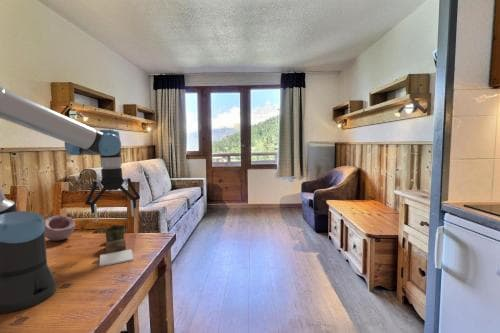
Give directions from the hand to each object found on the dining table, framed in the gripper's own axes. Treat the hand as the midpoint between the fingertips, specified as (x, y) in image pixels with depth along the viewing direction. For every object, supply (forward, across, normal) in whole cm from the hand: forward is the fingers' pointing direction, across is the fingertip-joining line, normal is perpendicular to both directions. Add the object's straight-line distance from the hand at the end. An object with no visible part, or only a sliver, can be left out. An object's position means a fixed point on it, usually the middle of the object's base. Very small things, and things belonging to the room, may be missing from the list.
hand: (115, 218), depth 113 cm
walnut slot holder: (+12, 0, 0) cm, 12 cm away
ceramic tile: (+12, 0, +14) cm, 18 cm away
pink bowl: (+12, +22, -20) cm, 32 cm away
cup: (+12, 0, 0) cm, 12 cm away
